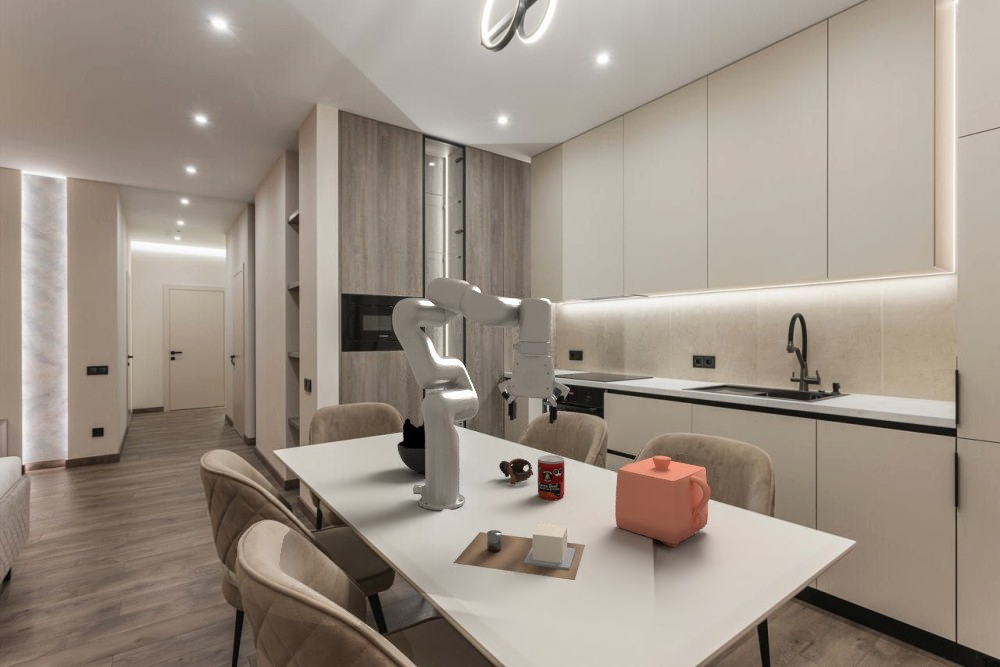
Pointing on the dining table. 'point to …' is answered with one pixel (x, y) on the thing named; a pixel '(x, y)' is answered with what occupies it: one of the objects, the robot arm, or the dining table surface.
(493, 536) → the post
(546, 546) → the cream cube
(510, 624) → the dining table surface
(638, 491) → the teapot
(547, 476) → the canned food
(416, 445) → the coal bowl
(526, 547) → the base board
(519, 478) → the pottery mug
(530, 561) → the pad
